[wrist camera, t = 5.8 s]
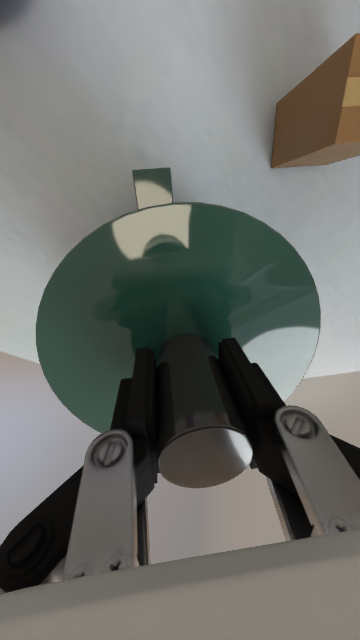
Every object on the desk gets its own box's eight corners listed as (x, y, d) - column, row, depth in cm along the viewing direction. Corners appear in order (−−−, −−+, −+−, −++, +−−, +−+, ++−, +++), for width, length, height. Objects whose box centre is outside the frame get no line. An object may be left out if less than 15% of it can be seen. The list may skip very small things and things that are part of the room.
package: (339, 99, 19) (456, 28, 12) (327, 164, 21) (421, 138, 14) (276, 103, 18) (356, 31, 11) (270, 168, 21) (335, 143, 13)
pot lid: (333, 190, 10) (593, 155, 4) (287, 417, 16) (362, 533, 10) (-4, 218, 9) (-299, 226, 3) (87, 445, 15) (46, 587, 9)
